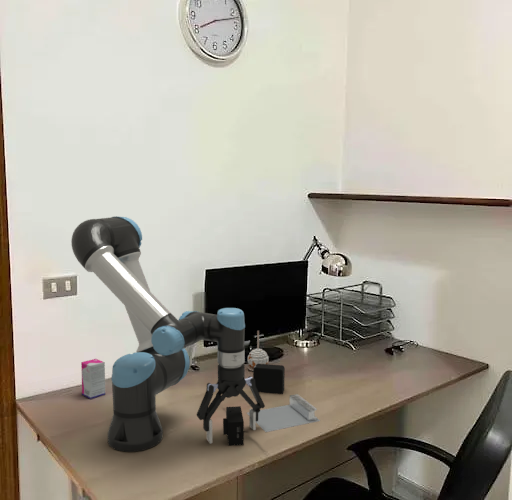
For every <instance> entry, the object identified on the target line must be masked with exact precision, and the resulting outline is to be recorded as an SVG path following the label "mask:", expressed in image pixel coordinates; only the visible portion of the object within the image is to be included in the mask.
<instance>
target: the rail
mask: <svg viewBox="0 0 512 500" xmlns="http://www.w3.org/2000/svg"><path fill="white" fill-rule="evenodd" d="M289 405H290V407H291V408H293V409H294V410H295V411H296V412H297V413H299V414H300V415H301V416H302V417H304V418H305V419H306V420H307V421H313V420H317V418H318V417H317V416H316V415H315V412H317V410H318V409H317V407H316V406H314V405H313V404H311V402H309V401H308V400H306V399H305V398H304V397H302V396H301V395H299V394H298V393H297V394H296V393H295V394H291V395H289Z"/></svg>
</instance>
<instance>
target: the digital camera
mask: <svg viewBox="0 0 512 500" xmlns="http://www.w3.org/2000/svg"><path fill="white" fill-rule="evenodd" d="M225 409H226V410H225V416H226V417H225V418H223V419H222V423H223V424H222V430H223V434H222V435H223V436H225V435H226V437H227V445H228V447H231V446H233V447H234V446H235V447H236V446H244V444H245V441H244V435H245V434H244V432H245V431H244V430H245V425H244V423H245V422H244V416H243V413H242V412H243V411H242V407H241V406H240V405H239V406H238V405H237V406H226V408H225Z"/></svg>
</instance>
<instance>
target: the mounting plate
mask: <svg viewBox="0 0 512 500" xmlns="http://www.w3.org/2000/svg"><path fill="white" fill-rule="evenodd" d="M246 414H247V415H248V416H249V411H248V412H246ZM320 421H321V420H320V419H319V418H318V417H317V420H313V421H307V420H306V419H305V418H304V417H302V416H301V415H300V414H299V413H297V412H296V411H295V410H294V409H293V408H291V407H290V404H285V405H279V406H275V407H270V408H269V407H268V408H263V409H260V412H259V413H258V421H256V425H258V427H260V428H261V429H262V430H263V431H264V432H265V433H269V432H275V431H278V430H282V429H288V428H294V427H298V426H302V425H307V424H313V423H317V422H320Z"/></svg>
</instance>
